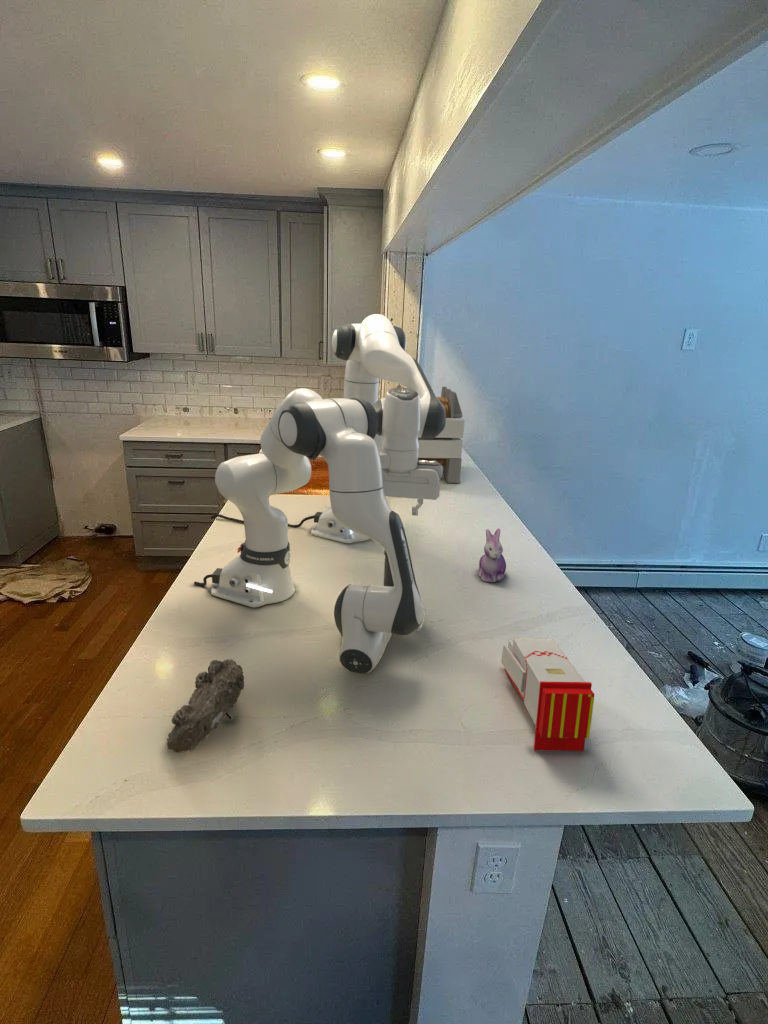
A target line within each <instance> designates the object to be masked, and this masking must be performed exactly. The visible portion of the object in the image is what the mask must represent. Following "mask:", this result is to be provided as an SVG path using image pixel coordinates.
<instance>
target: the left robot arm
mask: <svg viewBox="0 0 768 1024" xmlns="http://www.w3.org/2000/svg"><path fill="white" fill-rule="evenodd" d="M343 398H344V397H341V398H339V397H327V398H322V396H321V395H320V394H319V393H317V392H316V391H314V390H312V389H309V388H305V387H301V388H300V387H299V388H296V389H294V390H291V392H289V393H288V394H287V395H286V397H285V398H284V399H282V401H281V402H280V403H279V405H278V406H277V407H276V409H275V410H274V412H273V413H272V415H271V417H270V419H269V421H268V422H267V424H266V426H265V428H264V430H263V432H262V433H261V435H260V439H259V440H260V441H259V442H260V444H259V445H260V448H261V452H260V453H254V454H253V453H252V454H246V455H240V456H239V455H238V456H236V457H233V458H230V459H227V460H225V461H222V462H220V464H219V465H218V466H217V468H216V470H215V473H214V482H215V483H214V484H215V487H216V489H217V491H218V493H219V494H220V495H221V496H222V497H223V498H224V499H226V500H227V501H229V502H231V503H232V504H234V505H235V507H237V509H238V511H239V513H240V514H241V516H242V520H243V521H244V523H243V525H244V537H245V539H244V542H242V543H241V544H240V546H239V547H238V548H237V549H236V553H237V554H239V553H240V554H239V555H238V556H236V557H235V558H233V559H232V560H231V561H229V562H228V563H227V564H225V565H224V566H223V567H220V568H219V567H218V568H216V569H215V570H214V571H213V572H212V573H210V574H207V575H205V576H204V577H203V581H202V582H198V581H194V582H193V585H196V586H199V587H205V586H206V585H207V583H208V581H207V580H208V579H210V578H211V584H213V585H212V586H211V587H210V588H211V589H210V594H211V596H213V597H216V598H220V599H223V600H227V601H229V602H233V603H237V604H239V605H244V606H247V607H250V608H259V607H262V606H265V605H272V604H277V603H280V602H283V601H287V600H288V599H289V598H290V599H291V597H292V596H293V595H294V594H295V592H296V589H295V584H294V583H293V579H292V574H291V567H290V563H291V547H290V546H291V545H290V542H289V526H288V524H289V522H288V517H287V515H286V513H285V512H284V511H283V510H282V509H280V508H278V507H275V506H273V505H270V497H271V496H275V495H280V494H284V493H285V494H286V493H290V492H293V491H295V490H298V489H299V488H302V487H304V486H306V485H308V483H309V482H310V480H311V477H312V465H311V461H315V460H316V459H317V458H318V457H319V456H321V457H322V458H323V459H324V460H325V462H326V464H327V466H328V467H327V468H328V488H329V500H330V501H329V502H330V507H331V508H332V512H333V515H334V516H335V518H336V519H337V520H338V521H339V522H340V523H341V524H342V525H343V526H344V527H346V528H347V529H349V530H351V531H353V532H355V533H358V534H360V535H363V536H365V537H368V538H370V539H369V540H372V541H373V542H375V543H377V544H378V545H380V546H381V547H382V549H383V550H384V549H385V551H386V553H387V555H388V559H389V564H390V568H391V573H392V577H393V582H394V587H389V586H384V585H372V584H351V583H350V584H348V585H347V586H345V587H344V588H343V589H342V590H341V592H340V593H339V595H338V596H337V598H336V600H335V604H334V608H333V615H334V623H335V626H336V628H337V630H338V632H339V634H340V636H341V637H342V639H341V645H340V646H341V647H340V649H339V655H338V657H339V662H340V664H341V666H342V667H343V668H344V669H345V670H347V671H348V672H350V673H353V674H357V675H358V674H359V675H365V674H368V673H370V672H371V671H373V670H374V669H375V668H376V667H377V665H378V663H379V662H380V661H381V659H382V657H383V655H384V653H385V651H386V648H387V645H388V644H389V642H390V640H391V638H392V635H399V636H403V637H407V636H409V635H410V634H412V633H415V632H417V631H419V632H420V631H421V629H422V628H423V623H424V621H425V617H426V609H425V608H424V606H423V605H424V604H423V602H422V598H421V594H420V591H419V588H418V584H417V581H416V576H415V571H414V567H413V566H414V565H413V562H412V556H411V553H410V547H409V543H408V539H407V535H406V531H405V527H404V524H403V521H402V518H401V516H400V515H399V513H397V512H395V511H393V510H392V508H391V507H390V506H389V503H388V501H387V499H386V497H385V495H384V490H383V476H382V468H381V461H380V456H379V452H378V448H377V445H376V442H375V441H374V440H373V439H374V438H375V436H376V433H377V430H378V417H377V414H376V411H375V409H374V407H373V406H372V405H371V404H370V403H369V402H367V401H365V400H362V399H357V398H349V399H343Z"/></svg>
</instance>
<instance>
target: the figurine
mask: <svg viewBox="0 0 768 1024" xmlns="http://www.w3.org/2000/svg"><path fill="white" fill-rule="evenodd" d="M500 537H501V528H499V527H498V528H497V529H496V530H495V532H494V534H492V532H491V531H490V530H489V528H488V529H485V539H486V543H485V544H484V546H483V551H484V554H482V555H481V556H480V558H479V562H478V570H477V575H478V577H480V579H481V580H482V581H484V582H487V583H495V582H499V581H501V580H503V578H504V577H505V574H506V571H507V563H506V559H505V557H504V556H503V552H504V548H503V545H502V543H501V541H500Z"/></svg>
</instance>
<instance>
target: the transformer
mask: <svg viewBox="0 0 768 1024" xmlns="http://www.w3.org/2000/svg"><path fill="white" fill-rule="evenodd" d="M396 388H403V387H402V385H401V384H398V385H397V386H396ZM440 393H441V394H440V396H436V397H437V398H438V400H439V401H440V402H441V403H442V405H443V407H444V409H445V413H446V424H445V428H444V430H443V431H442V432H441V433H440V434H439V435H438V436H436V437H435V438H434V439H424V438H418V443H419V455H418V460H426V461H437V463H439V464H441V465H442V467H443V475H442V477H443V478H444V479H445V481H446V482H447V483H449V484H455V483H456V484H459V483H461V472H462V461H463V460H462V453H463V442H464V441H463V440H462V439H463V438H464V431H465V430H464V429H465V419H464V418H463V411H462V408H461V405H460V402H459V398H458V395H457V392H455V391H453V390H452V389H451V388H447V386H442V387H441V392H440ZM437 466H439V465H437Z"/></svg>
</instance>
